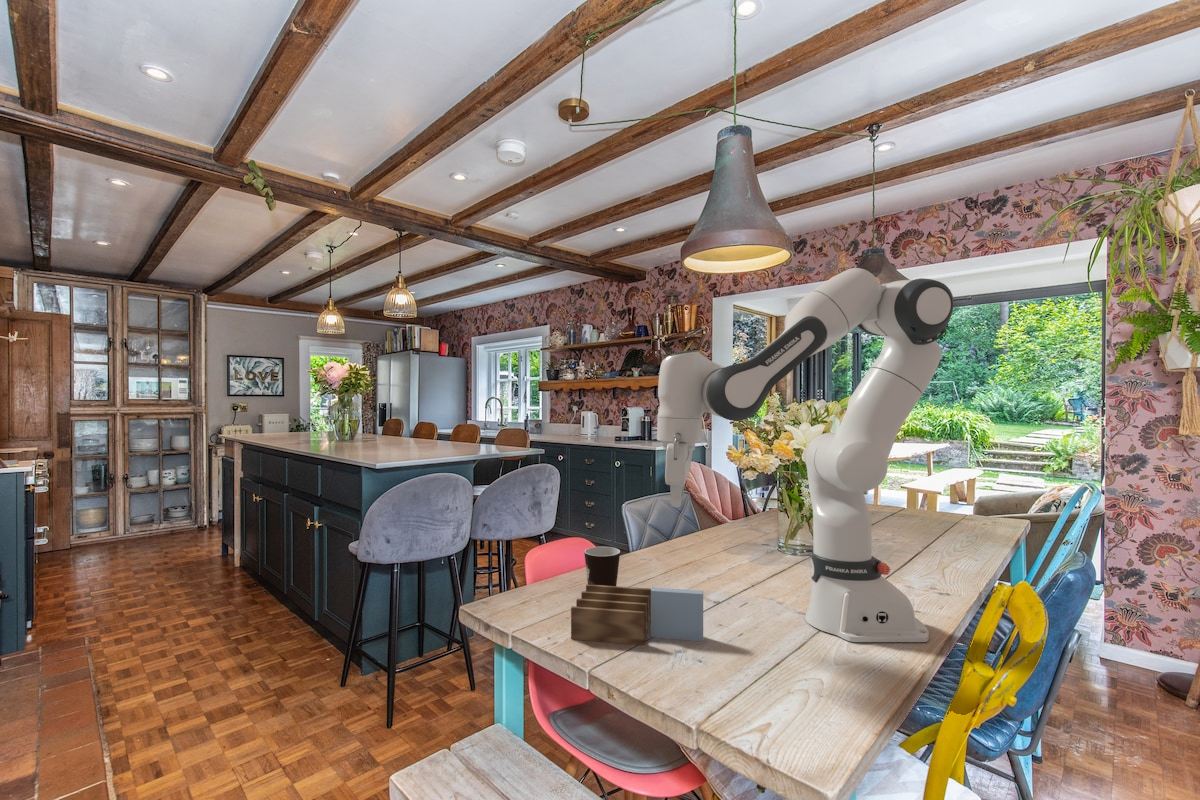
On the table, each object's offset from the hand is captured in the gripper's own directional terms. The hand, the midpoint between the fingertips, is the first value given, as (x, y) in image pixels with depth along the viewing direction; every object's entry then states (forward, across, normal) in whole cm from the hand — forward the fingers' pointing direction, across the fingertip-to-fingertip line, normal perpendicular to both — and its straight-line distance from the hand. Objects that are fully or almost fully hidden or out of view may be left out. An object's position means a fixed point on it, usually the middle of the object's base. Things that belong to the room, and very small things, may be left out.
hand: (677, 502), depth 110 cm
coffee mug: (+26, +21, +18) cm, 38 cm away
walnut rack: (+26, 0, +12) cm, 29 cm away
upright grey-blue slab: (+26, -2, -1) cm, 26 cm away
